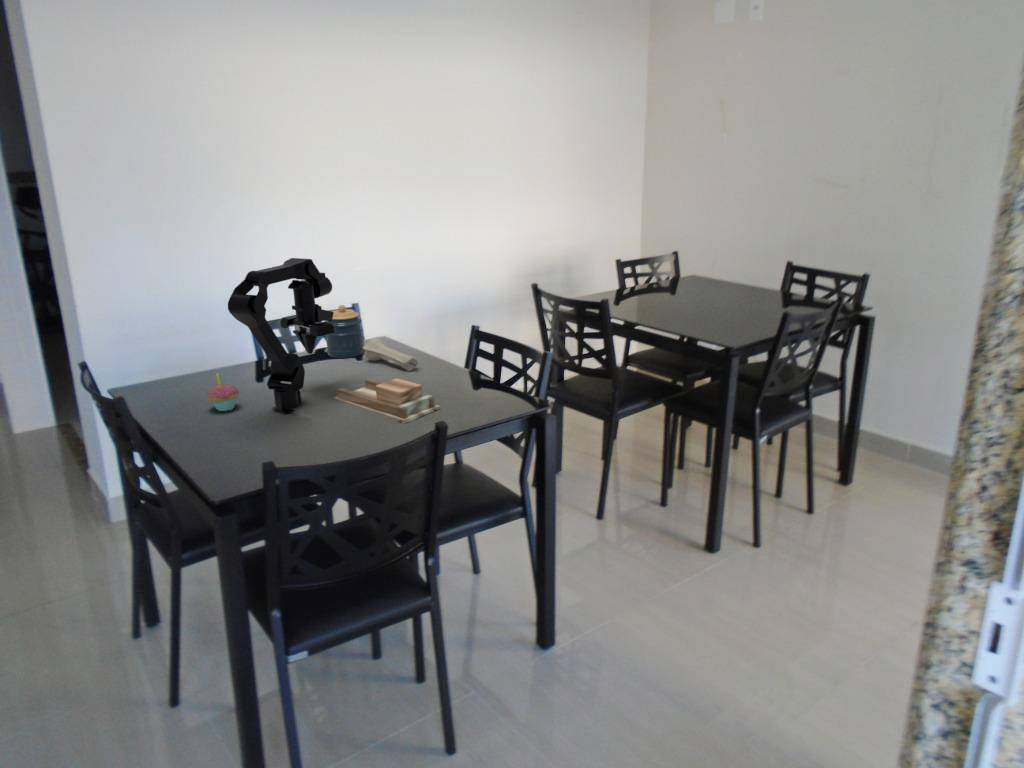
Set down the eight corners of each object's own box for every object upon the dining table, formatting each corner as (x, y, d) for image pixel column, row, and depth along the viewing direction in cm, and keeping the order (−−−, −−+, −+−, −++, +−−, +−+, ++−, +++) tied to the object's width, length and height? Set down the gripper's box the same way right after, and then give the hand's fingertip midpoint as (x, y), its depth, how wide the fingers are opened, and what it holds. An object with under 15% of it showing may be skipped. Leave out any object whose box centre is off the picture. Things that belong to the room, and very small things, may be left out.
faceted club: (381, 352, 262) (428, 369, 247) (362, 364, 257) (409, 382, 242) (374, 331, 258) (422, 346, 242) (355, 342, 253) (403, 359, 237)
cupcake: (235, 413, 210) (229, 373, 206) (205, 414, 209) (198, 374, 205) (244, 403, 218) (238, 364, 214) (214, 404, 217) (208, 365, 213)
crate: (401, 413, 204) (400, 392, 202) (376, 405, 211) (375, 385, 209) (422, 404, 210) (421, 384, 209) (398, 397, 217) (396, 378, 215)
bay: (403, 424, 200) (402, 410, 199) (333, 401, 218) (332, 388, 217) (439, 409, 211) (439, 396, 209) (369, 388, 229) (368, 376, 227)
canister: (366, 357, 261) (362, 307, 255) (328, 360, 257) (323, 310, 251) (362, 347, 272) (358, 300, 267) (326, 350, 269) (321, 302, 263)
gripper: (347, 300, 215) (352, 352, 220) (308, 293, 226) (313, 342, 231) (315, 308, 207) (321, 361, 212) (276, 299, 218) (282, 350, 223)
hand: (310, 353), depth 219 cm, fingers closed
